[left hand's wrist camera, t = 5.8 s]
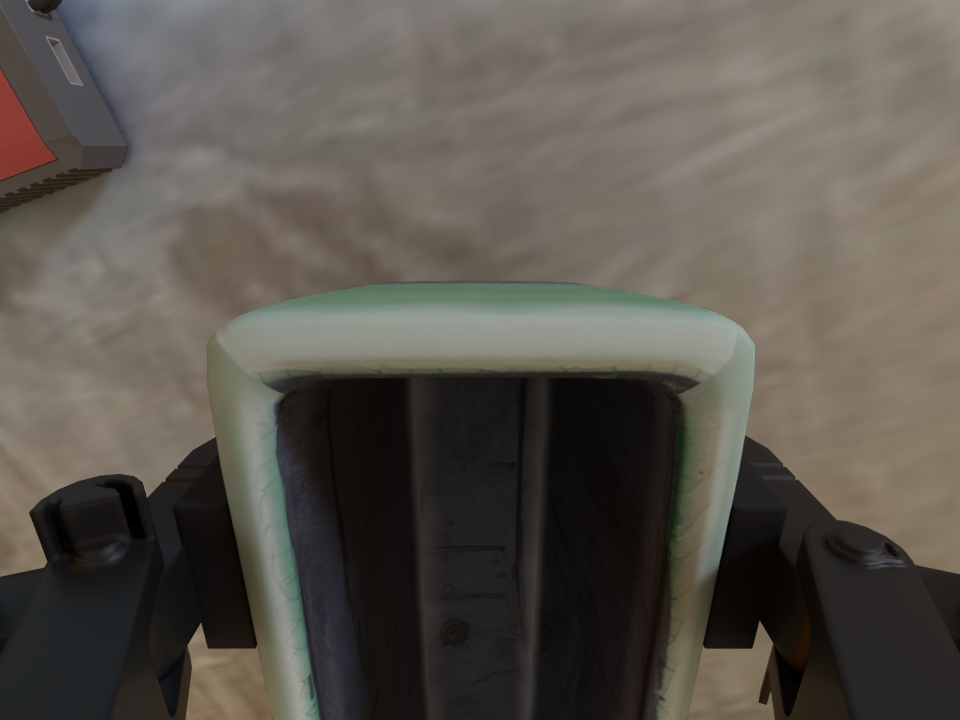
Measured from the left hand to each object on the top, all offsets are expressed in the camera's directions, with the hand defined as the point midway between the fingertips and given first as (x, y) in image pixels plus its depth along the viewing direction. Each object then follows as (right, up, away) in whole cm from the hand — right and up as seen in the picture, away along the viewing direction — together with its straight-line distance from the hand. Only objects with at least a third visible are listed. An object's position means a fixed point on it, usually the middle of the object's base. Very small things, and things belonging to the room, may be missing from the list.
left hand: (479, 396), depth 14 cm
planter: (0, -9, +4) cm, 10 cm away
